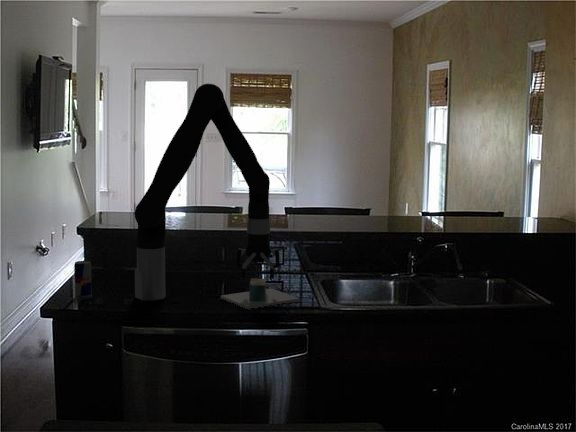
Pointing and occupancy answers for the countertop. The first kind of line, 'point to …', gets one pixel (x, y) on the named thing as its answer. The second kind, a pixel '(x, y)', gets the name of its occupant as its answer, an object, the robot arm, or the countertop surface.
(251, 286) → the brown tall block
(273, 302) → the cream board
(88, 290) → the energy drink
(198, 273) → the countertop surface
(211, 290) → the countertop surface
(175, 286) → the countertop surface
